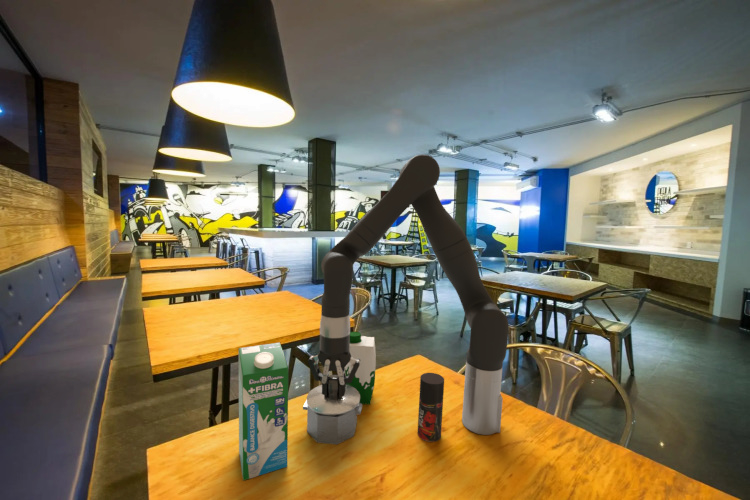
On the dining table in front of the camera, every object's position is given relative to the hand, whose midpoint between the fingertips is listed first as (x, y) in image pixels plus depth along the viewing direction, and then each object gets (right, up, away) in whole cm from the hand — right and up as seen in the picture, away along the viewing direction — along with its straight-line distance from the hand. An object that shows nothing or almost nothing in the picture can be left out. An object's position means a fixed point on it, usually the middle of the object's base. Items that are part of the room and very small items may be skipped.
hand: (333, 395), depth 83 cm
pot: (0, -9, +1) cm, 9 cm away
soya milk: (+6, -8, +15) cm, 18 cm away
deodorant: (+25, -10, 0) cm, 26 cm away
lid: (0, -1, 0) cm, 1 cm away
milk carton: (-15, -9, -11) cm, 20 cm away
